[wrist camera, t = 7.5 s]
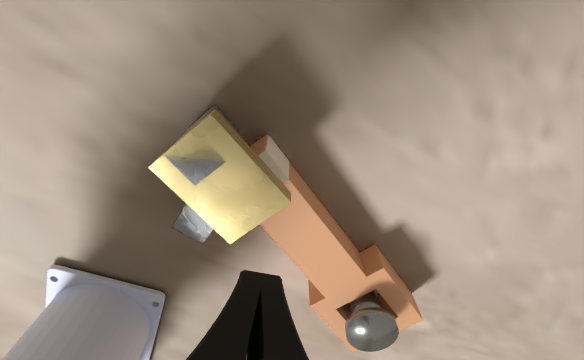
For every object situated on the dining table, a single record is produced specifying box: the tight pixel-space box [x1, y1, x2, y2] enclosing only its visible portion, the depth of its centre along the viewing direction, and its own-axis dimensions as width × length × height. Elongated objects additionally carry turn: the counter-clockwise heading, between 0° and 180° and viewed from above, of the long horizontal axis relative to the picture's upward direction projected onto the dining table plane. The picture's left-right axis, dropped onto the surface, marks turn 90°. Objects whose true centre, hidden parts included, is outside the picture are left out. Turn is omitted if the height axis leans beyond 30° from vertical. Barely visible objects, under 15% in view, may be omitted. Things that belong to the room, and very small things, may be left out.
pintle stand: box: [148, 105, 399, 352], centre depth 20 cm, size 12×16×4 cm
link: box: [250, 134, 423, 352], centre depth 22 cm, size 16×5×2 cm, turn 36°
